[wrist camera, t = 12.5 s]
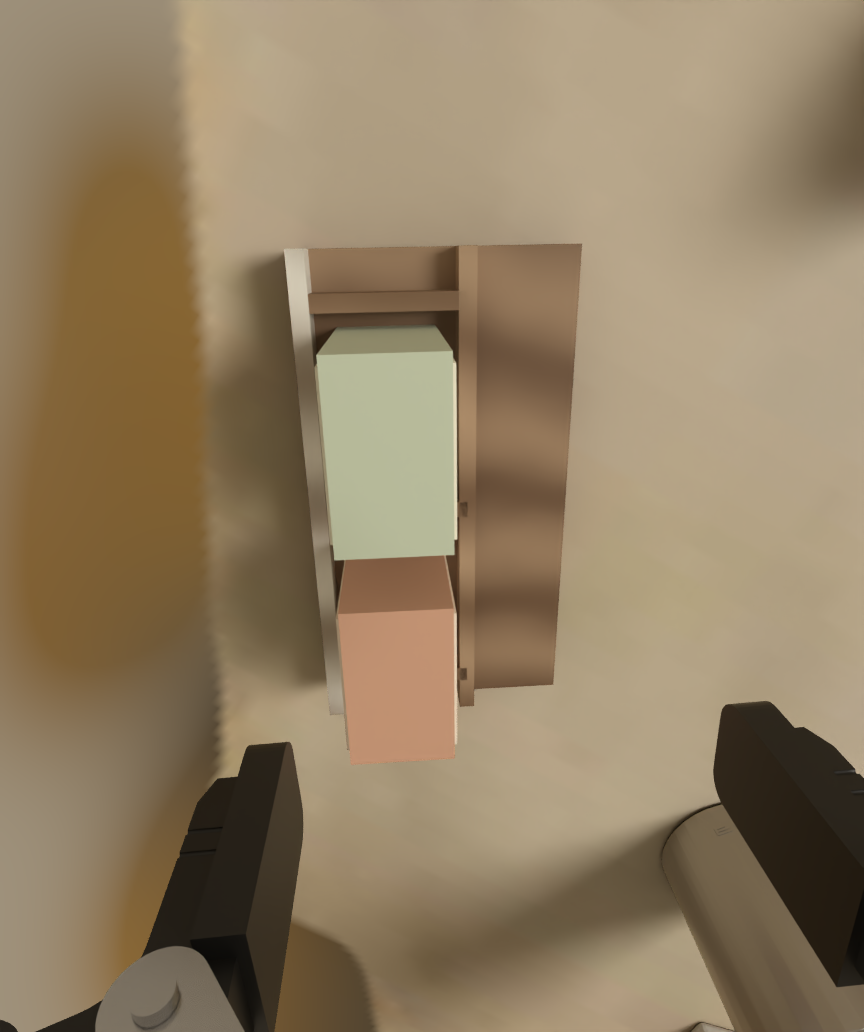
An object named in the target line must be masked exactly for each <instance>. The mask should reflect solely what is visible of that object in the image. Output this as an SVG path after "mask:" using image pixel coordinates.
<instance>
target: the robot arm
mask: <svg viewBox="0 0 864 1032" xmlns="http://www.w3.org/2000/svg"><path fill="white" fill-rule="evenodd" d="M713 774H714V782H715V787H716V790H717V794H718V796H719V799H720V801H721V803H722V805H718V806H715V807H712V808H708V809H706V810H704V811H701V812H699V813H697V814H695V815H693V816H692V817H690V818H689V819H687V820H686V821H685V822H683V823H682V824H681V825H680V826H679V827H678V828H677V829H676V830H675V831H674V832H673V833H672V835H671V836H670V837H669V839H668V840H667V842H666V845H665V847H664V849H663V854H662V866H663V870H664V872H665V875H666V877H667V879H668V881H669V884H670V886H671V888H672V890H673V893H674V895H675V897H676V899H677V902H678V904H679V906H680V908H681V911H682V913H683V915H684V917H685V920H686V922H687V925H688V927H689V929H690V931H691V934H692V936H693V938H694V940H695V942H696V945H697V947H698V949H699V951H700V954H701V956H702V958H703V960H704V963H705V965H706V967H707V969H708V972H709V974H710V976H711V978H712V980H713V983H714V985H715V987H716V989H717V992H718V994H719V996H720V998H721V1001H722V1003H723V1005H724V1007H725V1010H726V1012H727V1014H728V1016H729V1018H730V1021H731V1023H732V1025H733V1027H734V1030H735V1032H864V778H863V777H862V776H861V775H860V774H856V772H855V768H854V767H853V766H852V765H851V764H850V763H849V762H848V761H847V760H846V759H845V758H844V757H843V756H842V755H841V753H840V752H839V751H838V750H837V749H836V748H835V747H834V746H833V745H831V744H830V743H828V742H826V741H825V740H823V739H822V738H820V737H819V736H817V735H815V734H814V733H812V732H811V731H809V730H808V729H806V728H804V727H799V728H794V727H793V726H792V725H791V723H790V722H789V721H788V720H787V719H786V718H785V717H784V716H783V714H782V713H781V712H780V711H779V710H778V709H777V708H776V707H775V706H774V705H773V704H772V703H770V702H768V701H761V702H749V703H738V704H728V705H725V706H724V708H723V709H722V712H721V718H720V725H719V732H718V739H717V746H716V754H715V761H714V769H713ZM302 840H303V809H302V801H301V796H300V790H299V784H298V778H297V772H296V766H295V760H294V754H293V749H292V745H291V743H290V742H282V743H270V744H259V745H249V746H248V747H247V748H246V751H245V754H244V757H243V760H242V764H241V767H240V771H239V774H238V777H230V778H219V779H217V780H216V781H215V782H214V783H213V785H212V786H211V787H210V788H209V789H208V791H207V792H206V793H205V794H204V796H203V797H202V798H201V799H200V800H199V801H198V803H197V805H196V808H195V811H194V814H193V817H192V820H191V822H190V825H189V828H188V835H186V836H185V839H184V842H183V845H182V847H181V850H180V857H179V858H178V859H177V861H176V864H175V867H174V870H173V873H172V876H171V879H170V881H169V884H168V887H167V890H166V892H165V895H164V898H163V901H162V904H161V907H160V909H159V912H158V915H157V918H156V921H155V923H154V926H153V929H152V932H151V935H150V937H149V940H148V943H147V946H146V948H145V950H144V953H143V955H142V957H141V958H140V959H138V960H137V961H136V962H135V963H133V964H132V965H130V966H129V967H128V968H127V969H126V970H125V971H124V972H123V973H122V974H121V975H120V976H119V977H118V978H117V979H116V980H115V982H114V983H113V984H112V985H111V987H110V988H109V990H108V991H107V993H106V995H105V997H104V999H103V1000H102V1001H100V1002H99V1003H97V1004H95V1005H94V1006H92V1007H91V1008H89V1009H87V1010H85V1011H83V1012H81V1013H78V1014H76V1015H74V1016H71V1017H69V1018H67V1019H64V1020H62V1021H60V1022H57V1023H55V1024H53V1025H50V1026H48V1027H46V1028H43V1029H41V1030H39V1031H36V1032H274V1029H275V1023H276V1016H277V1009H278V1003H279V995H280V990H281V982H282V976H283V969H284V962H285V955H286V949H287V942H288V936H289V928H290V922H291V915H292V908H293V902H294V895H295V888H296V881H297V875H298V868H299V861H300V854H301V848H302ZM0 1032H18V1031H17V1030H16V1028H15V1027H14V1026H13V1025H11V1024H10V1023H8V1022H5V1021H3V1020H0Z"/></svg>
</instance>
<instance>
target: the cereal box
mask: <svg viewBox="0 0 864 1032" xmlns="http://www.w3.org/2000/svg"><path fill="white" fill-rule="evenodd" d="M691 1032H734V1031H731V1030H727V1029H724V1028H720V1027H717V1026H713V1025H710V1024H706V1023H700V1024H698V1025H697V1026H696V1027H695V1028H694V1029H693V1030H692V1031H691Z"/></svg>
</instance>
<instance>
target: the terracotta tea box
mask: <svg viewBox="0 0 864 1032" xmlns="http://www.w3.org/2000/svg"><path fill="white" fill-rule="evenodd" d="M336 628H337V639H338V650H339V662H340V673H341V684H342V696H343V707H344V718H345V729H346V741H347V750H350V759H351V765H354V764H371V763H387V762H404V761H420V760H437V759H453V758H455V744H457V613H456V607H455V602H454V597H453V591H452V586H451V581H450V576H449V570H448V565H447V560H446V555H442V556H420V557H398V558H376V559H355V560H344V567H343V573H342V580H341V587H340V594H339V600H338V607H337V614H336Z"/></svg>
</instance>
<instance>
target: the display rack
mask: <svg viewBox="0 0 864 1032" xmlns="http://www.w3.org/2000/svg"><path fill="white" fill-rule="evenodd" d="M581 251H582V244H543V245H491V246H478V245H464V246H439V247H387V248H335V249H284V255H285V265H286V275H287V285H288V295H289V306H290V316H291V326H292V336H293V346H294V356H295V366H296V376H297V386H298V397H299V407H300V417H301V427H302V437H303V447H304V457H305V467H306V477H307V488H308V498H309V508H310V518H311V528H312V538H313V548H314V558H315V568H316V579H317V589H318V599H319V609H320V619H321V629H322V639H323V649H324V660H325V670H326V680H327V690H328V700H329V710H330V715H341V714H344V707H343V696H342V684H341V673H340V662H339V650H338V639H337V628H336V614H337V607H338V600H339V594H340V587H341V580H342V573H343V567H344V560H334V550H333V545H330V537H329V525H328V514H327V503H326V492H325V481H324V470H323V458H322V447H321V436H320V425H319V414H318V403H317V392H316V380H315V369H314V367H315V366H316V364H317V357H316V355H317V354H318V352H319V351H320V350H321V348H322V347H323V346H324V344H325V343H326V342H327V340H328V339H329V337H330V336H331V335H332V333H333V332H334V331H335V329H336V328H337V327H363V326H400V325H435V326H436V327H437V328H438V330H439V331H440V333H441V334H442V336H443V337H444V339H445V340H446V342H447V343H448V345H449V346H450V348H451V349H452V351H453V359H454V360H455V362H456V397H457V540H454V555H446V560H447V565H448V570H449V576H450V581H451V586H452V591H453V597H454V602H455V607H456V613H457V691H458V698H459V704H460V707H461V706H474V689H482V688H500V687H518V686H536V685H553V678H554V663H555V648H556V632H557V617H558V602H559V587H560V571H561V556H562V541H563V526H564V510H565V495H566V480H567V464H568V449H569V434H570V419H571V403H572V388H573V373H574V358H575V342H576V327H577V312H578V297H579V281H580V266H581Z"/></svg>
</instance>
